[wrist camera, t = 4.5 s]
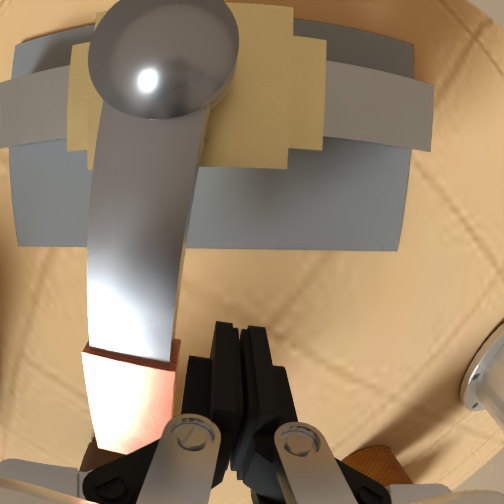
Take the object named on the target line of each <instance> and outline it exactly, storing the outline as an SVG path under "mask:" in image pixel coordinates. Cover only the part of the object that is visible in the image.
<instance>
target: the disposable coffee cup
mask: <svg viewBox="0 0 504 504" xmlns="http://www.w3.org/2000/svg"><path fill="white" fill-rule="evenodd" d="M342 462H343V463H345V464H346V465H348V466H350V467H352V468H353V469H355V470H357V471H359V472H360V473H362V474H364V475H366V476H368V477H370V478H371V479H373V480H375V481H377V482H379V483H380V484H382V485H383V486H384V487H388V486H389V485H390V484H413V483H412V481H411V480H410V478H409V477H408V475H407V474H406V472H405V471H404V469H403V468H402V466H401V465H400V463H399V462H398V460H397V459H396V457H395V456H394V454H393V453H392V451H391V450H390V448H388V447H386V446H373V447H369V448H365V449H363V450H360V451H358V452H356V453H354V454H352V455H350V456H348V457H347V458H345V459H344V460H343V461H342Z"/></svg>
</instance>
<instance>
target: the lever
mask: <svg viewBox="0 0 504 504" xmlns="http://www.w3.org/2000/svg"><path fill="white" fill-rule="evenodd" d="M238 50H239V32H238V26H237V23H236V20H235V18H234V16H233V14H232V12H231V10H230V9H229V7H228V6H227V5H226V3H225V2H224V1H223V0H120V1H118V2H117V3H116V4H115V5H114V6H113V7H112V8H111V9H110V10H109V11H108V12H107V13H106V14H105V15H104V17H103V18H102V19H101V21H100V22H99V24H98V25H97V27H96V29H95V31H94V33H93V36H92V39H91V42H90V46H89V51H88V69H89V74H90V78H91V80H92V83H93V85H94V87H95V89H96V91H97V92H98V94H99V95H100V96H101V97H102V99H103V105H102V110H101V116H100V121H99V127H98V134H97V140H96V147H95V155H94V163H93V171H92V181H91V191H90V203H89V218H88V240H87V303H88V325H89V341H88V343H87V345H86V346H85V348H84V350H83V352H82V356H83V365H84V372H85V379H86V386H87V393H88V399H89V405H90V410H91V415H92V421H93V426H94V430H95V435H96V440H97V444H98V448H101V449H105V450H109V451H113V452H118V453H122V454H126V455H127V454H129V453H131V452H133V451H135V450H137V449H139V448H141V447H144V446H146V445H148V444H150V443H152V442H154V441H156V440H158V439H160V438H161V435H162V433H163V430H164V428H165V426H166V424H167V423H168V421H169V420H171V419H172V418H173V416H174V404H175V393H176V382H177V372H178V362H179V353H180V344H181V340H179V339H174V338H175V329H176V320H177V311H178V302H179V294H180V286H181V278H182V271H183V263H184V256H185V249H186V242H187V236H188V229H189V223H190V217H191V210H192V204H193V198H194V192H195V187H196V181H197V175H198V170H199V164H200V159H201V154H202V149H203V143H204V138H205V133H206V128H207V124H208V119H209V114H210V111H211V110H212V109H214V108H215V107H216V106H217V105H218V104H219V103H220V102H221V101H222V100H223V98H224V97H225V96H226V94H227V93H228V91H229V90H230V87H231V85H232V83H233V80H234V76H235V70H236V64H237V57H238Z"/></svg>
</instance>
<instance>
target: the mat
mask: <svg viewBox="0 0 504 504" xmlns="http://www.w3.org/2000/svg"><path fill="white" fill-rule="evenodd" d="M94 29H95V24H94V25H89V26H84V27H79V28H75V29H70V30H66V31H62V32H58V33H54V34H50V35H47V36H43V37H40V38H36V39H33V40H30V41H27V42H23V43H20V44H17V45H15V52H14V60H13V68H12V78H11V79H14V78H18V77H21V76H25V75H29V74H33V73H36V72H40V71H45V70H49V69H53V68H58V67H62V66H67V65H70V62H71V53H72V45H76V44H81V43H86V42H91V39H92V36H93V33H94ZM293 36H300V37H308V38H315V39H322V40H326V61H333V62H339V63H344V64H350V65H355V66H360V67H365V68H370V69H374V70H379V71H383V72H387V73H392V74H396V75H400V76H403V77H407V78H411V79H414V45H413V44H410V43H407V42H404V41H400V40H397V39H393V38H390V37H386V36H383V35H379V34H375V33H371V32H367V31H363V30H358V29H354V28H349V27H344V26H339V25H334V24H328V23H322V22H316V21H310V20H303V19H295V18H293ZM410 154H411V149H406V148H398V147H392V146H386V145H379V144H372V143H365V142H358V141H350V140H341V139H332V138H323V144H322V151H321V150H309V149H296V148H288V162H287V169H271V168H244V167H199V170H198V175H197V181H196V187H195V192H194V198H193V204H192V210H191V217H190V223H189V229H188V236H187V242H186V248H213V249H282V250H345V251H397V250H398V244H399V238H400V233H401V227H402V220H403V214H404V207H405V199H406V192H407V184H408V175H409V165H410ZM9 165H10V182H11V194H12V204H13V213H14V221H15V228H16V235H17V241H18V246H45V247H87V240H88V218H89V203H90V191H91V181H92V171H93V170H88V163H87V150H78V151H68V152H67V139H64V140H56V141H48V142H41V143H34V144H28V145H22V146H15V147H9Z"/></svg>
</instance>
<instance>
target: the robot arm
mask: <svg viewBox="0 0 504 504" xmlns="http://www.w3.org/2000/svg"><path fill="white" fill-rule="evenodd" d="M460 399H461V401H462V403H463V404H464V405H465V407H466V408H467V409H468V410H470V411H479V410H483V409H486V410H487V411H488V413H489V414H490V415H491V417H492V418H493V419H494V421H495V422H496V423H497V425H498V426H499V427H500V429H501V430H502V431H503V433H504V323H503V324H502V325H500V326H499V327H498V329H497V330H496V331H495V332H494V333H493V334H492V335H491V336H490V337H489V338H488V340H487V341H486V342H485V343H484V344H483V346H482V347H481V349H480V350H479V351H478V353H477V354H476V356H475V357H474V359H473V361H472V362H471V364H470V366H469V368H468V370H467V372H466V374H465V376H464V379H463V381H462V385H461V389H460ZM229 461H230V467H231V471H237V480H243V483H244V484H245V485H247V486H248V487H249V488H251V498H252V501H253V504H504V494H502V493H500V492H496V491H491V490H463V491H457V492H452V491H451V490H450V489H449V488H448V487H446V486H444V485H442V484H390V485H389V486H388V487H384V486H383V485H382V484H380V483H379V482H377V481H375V480H373V479H371V478H370V477H368V476H366V475H364V474H362V473H360V472H359V471H357V470H355V469H353V468H352V467H350V466H348V465H346V464H345V463H343V462H341V461H340V460H338V459H336V458H335V457H334V456H333V454H332V452H331V450H330V448H329V446H328V444H327V442H326V440H325V438H324V436H323V435H322V433H321V432H320V431H319V430H317V429H316V428H315V427H313V426H311V425H309V424H306V423H302V422H298V419H297V415H296V411H295V406H294V402H293V398H292V394H291V390H290V386H289V382H288V378H287V373H286V370H285V368H284V367H283V366H273V364H272V359H271V354H270V349H269V344H268V339H267V334H266V329H265V327H257V326H248V328H247V329H242V330H241V334H240V339H239V331H238V328H233V324H232V323H227V322H220V321H216V325H215V330H214V336H213V342H212V348H211V354H210V358H203V357H196V356H189V359H188V366H187V374H186V381H185V388H184V396H183V403H182V411H181V415H178V416H175V417H173V418H172V419H171V420H169V421H168V423H167V424H166V426H165V428H164V430H163V433H162V435H161V438H160V439H158V440H156V441H154V442H152V443H150V444H148V445H146V446H144V447H141V448H139V449H137V450H135V451H133V452H131V453H129V454H127V455H125V456H122V457H120V458H118V459H116V460H114V461H111V462H109V463H107V464H105V465H102V466H100V467H98V468H95V469H94V470H92V471H91V472H81V471H78V469H77V468H70V467H62V466H55V465H48V464H42V463H36V462H30V461H25V460H20V459H6V460H3V461H1V462H0V504H208V501H209V496H210V491H211V489H212V488H214V487H215V486H217V485H218V484H219V483H221V482H222V480H223V477H224V474H225V470H227V468H228V465H229Z"/></svg>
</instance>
